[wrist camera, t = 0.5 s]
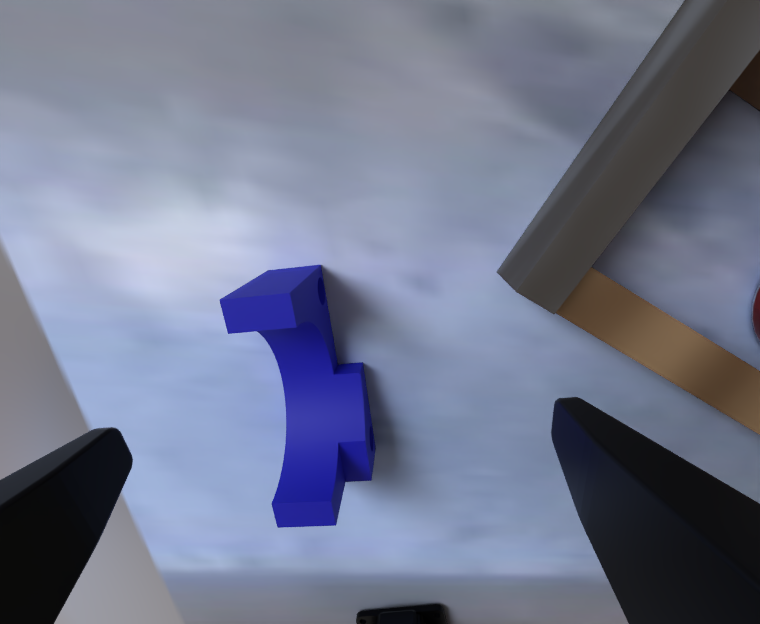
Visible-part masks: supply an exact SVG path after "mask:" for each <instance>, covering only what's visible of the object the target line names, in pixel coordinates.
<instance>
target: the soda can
mask: <svg viewBox="0 0 760 624" xmlns="http://www.w3.org/2000/svg"><path fill="white" fill-rule="evenodd" d="M752 322H753V328H754V331H755V333H756V336H757V338H758V340H759V342H760V284H759V286H758V288H757V289H756V292H755V296H754V299H753V305H752Z"/></svg>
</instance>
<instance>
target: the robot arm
mask: <svg viewBox="0 0 760 624" xmlns="http://www.w3.org/2000/svg"><path fill="white" fill-rule="evenodd" d="M551 435H552V441H553V444H554V447H555V450H556V453H557V456H558V459H559V462H560V464H561V467H562V470H563V473H564V476H565V479H566V482H567V485H568V487H569V490H570V493H571V496H572V499H573V502H574V505H575V507H576V510H577V513H578V515H579V518H580V520H581V523H582V525H583V527H584V529H585V532H586V534H587V536H588V538H589V540H590V542H591V544H592V546H593V549H594V551H595V553H596V555H597V557H598V559H599V561H600V563H601V565H602V568H603V570H604V572H605V574H606V576H607V578H608V580H609V582H610V584H611V587H612V589H613V591H614V593H615V595H616V597H617V599H618V601H619V604H620V606H621V608H622V610H623V612H624V614H625V616H626V618H627V620H628V623H629V624H760V504H759V503H758V502H756V501H754V500H752V499H751V498H749V497H747V496H746V495H744V494H742V493H741V492H739V491H737V490H735V489H734V488H732V487H730V486H729V485H727V484H725V483H724V482H722V481H720V480H718V479H717V478H715V477H713V476H712V475H710V474H708V473H707V472H705V471H703V470H701V469H700V468H698V467H696V466H695V465H693V464H691V463H690V462H688V461H686V460H684V459H683V458H681V457H679V456H678V455H676V454H674V453H673V452H671V451H669V450H667V449H666V448H664V447H662V446H661V445H659V444H657V443H656V442H654V441H652V440H650V439H649V438H647V437H645V436H644V435H642V434H640V433H639V432H637V431H635V430H633V429H632V428H630V427H628V426H627V425H625V424H623V423H622V422H620V421H618V420H616V419H615V418H613V417H611V416H610V415H608V414H606V413H605V412H603V411H601V410H599V409H598V408H596V407H594V406H593V405H591V404H589V403H588V402H586V401H584V400H582V399H580V398H578V397H570V398H559V399H557V400H556V401H555V404H554V411H553V420H552V430H551ZM132 462H133V459H132V455H131V453H130V451H129V448H128V446H127V444H126V442H125V440H124V438H123V436H122V434H121V432H120V431H119V430H118V429H117V428H113V427H110V428H97V429H93V430H91V431H89V432H88V433H86V434H84V435H82V436H80V437H79V438H77V439H75V440H73V441H71V442H69V443H67V444H66V445H64V446H62V447H60V448H58V449H56V450H55V451H53V452H51V453H49V454H47V455H45V456H44V457H42V458H40V459H38V460H36V461H34V462H33V463H31V464H29V465H27V466H25V467H23V468H22V469H20V470H18V471H16V472H14V473H12V474H11V475H9V476H7V477H5V478H3V479H1V480H0V624H54V622H55V620H56V619H57V617H58V615H59V613H60V611H61V610H62V608H63V606H64V604H65V602H66V600H67V598H68V597H69V595H70V593H71V591H72V589H73V588H74V586H75V584H76V582H77V580H78V579H79V577H80V575H81V573H82V571H83V569H84V568H85V566H86V564H87V562H88V560H89V558H90V557H91V555H92V553H93V551H94V549H95V547H96V545H97V543H98V542H99V539H100V537H101V535H102V533H103V531H104V529H105V526H106V524H107V522H108V520H109V518H110V515H111V513H112V511H113V509H114V506H115V504H116V502H117V500H118V497H119V495H120V493H121V491H122V488H123V486H124V484H125V481H126V479H127V477H128V475H129V472H130V470H131V468H132ZM356 623H357V624H447V621H446V617H445V613H444V609H443V607H442V606H441V605H425V606H414V607H402V608H391V609H380V610H369V611H361V612H358V614H357V618H356Z"/></svg>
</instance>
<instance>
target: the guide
mask: <svg viewBox="0 0 760 624" xmlns="http://www.w3.org/2000/svg"><path fill="white" fill-rule="evenodd" d="M728 90H731V91H732V92H734V93H735V94H737V95H738V96H739V97H741V98H742V99H744V100H745V101H747V102H748V103H749V104H751V105H752V106H754V107H755V108H757V109H758V110H759V111H760V0H685V1H684V2H683V4H682V5H681V7H680V8H679V10H678V11H677V13H676V14H675V15H674V17H673V18H672V20H671V21H670V23H669V24H668V26H667V27H666V28H665V30H664V31H663V33H662V34H661V36H660V37H659V38H658V40H657V41H656V43H655V44H654V46H653V47H652V49H651V50H650V51H649V53H648V54H647V56H646V57H645V59H644V60H643V62H642V63H641V64H640V66H639V67H638V69H637V70H636V72H635V73H634V75H633V76H632V77H631V79H630V80H629V82H628V83H627V85H626V86H625V88H624V89H623V90H622V92H621V93H620V95H619V96H618V98H617V99H616V101H615V102H614V103H613V105H612V106H611V108H610V109H609V111H608V112H607V113H606V115H605V116H604V118H603V119H602V121H601V122H600V124H599V125H598V126H597V128H596V129H595V131H594V132H593V134H592V135H591V137H590V138H589V139H588V141H587V142H586V144H585V145H584V147H583V148H582V150H581V151H580V152H579V154H578V155H577V157H576V158H575V160H574V161H573V163H572V164H571V165H570V167H569V168H568V170H567V171H566V173H565V174H564V176H563V177H562V178H561V180H560V181H559V183H558V184H557V186H556V187H555V188H554V190H553V191H552V193H551V194H550V196H549V197H548V199H547V200H546V201H545V203H544V204H543V206H542V207H541V209H540V210H539V212H538V213H537V214H536V216H535V217H534V219H533V220H532V222H531V223H530V225H529V226H528V227H527V229H526V230H525V232H524V233H523V235H522V236H521V238H520V239H519V240H518V242H517V243H516V245H515V246H514V248H513V249H512V251H511V252H510V253H509V255H508V256H507V258H506V259H505V261H504V262H503V263H502V265H501V266H500V268H499V269H498V271H497V273H498V274H499V275H500V276H501V277H502V278H503V279H504V280H505V281H506V282H507V283H508V284H509V285H510V286H511V287H512V288H513V289H514V290H515V291H516V292H517V293H519V294H521V295H522V296H524V297H526V298H527V299H529V300H531V301H532V302H534V303H536V304H538V305H539V306H541V307H543V308H544V309H546V310H548V311H549V312H551V313H553V314H555V313H557V314H558V315H560V316H562V317H563V318H565V319H567V320H568V321H570V322H572V323H573V324H575V325H577V326H578V327H580V328H582V329H583V330H585V331H587V332H588V333H590V334H592V335H593V336H595V337H597V338H598V339H600V340H602V341H603V342H605V343H607V344H608V345H610V346H612V347H613V348H615V349H617V350H619V351H620V352H622V353H624V354H625V355H627V356H629V357H630V358H632V359H634V360H635V361H637V362H639V363H640V364H642V365H644V366H645V367H647V368H649V369H650V370H652V371H654V372H655V373H657V374H659V375H660V376H662V377H664V378H665V379H667V380H669V381H670V382H672V383H674V384H675V385H677V386H679V387H681V388H682V389H684V390H686V391H687V392H689V393H691V394H692V395H694V396H696V397H697V398H699V399H701V400H702V401H704V402H706V403H707V404H709V405H711V406H712V407H714V408H716V409H717V410H719V411H721V412H722V413H724V414H726V415H727V416H729V417H731V418H732V419H734V420H736V421H738V422H739V423H741V424H743V425H744V426H746V427H748V428H749V429H751V430H753V431H754V432H756V433H758V434H759V435H760V371H759V370H757V369H756V368H754V367H752V366H751V365H749V364H748V363H746V362H744V361H743V360H741V359H739V358H738V357H736V356H735V355H733V354H731V353H730V352H728V351H726V350H725V349H723V348H722V347H720V346H718V345H717V344H715V343H713V342H712V341H710V340H709V339H707V338H705V337H704V336H702V335H701V334H699V333H697V332H696V331H694V330H692V329H691V328H689V327H688V326H686V325H684V324H683V323H681V322H679V321H678V320H676V319H675V318H673V317H671V316H670V315H668V314H666V313H665V312H663V311H662V310H660V309H658V308H657V307H655V306H653V305H652V304H650V303H649V302H647V301H645V300H644V299H642V298H641V297H639V296H637V295H636V294H634V293H632V292H631V291H629V290H628V289H626V288H624V287H623V286H621V285H619V284H618V283H616V282H615V281H613V280H611V279H610V278H608V277H606V276H605V275H603V274H602V273H600V272H598V271H597V270H595V269H594V268H592V267H591V266H592V265H593V264H594V263H595V261H596V260H597V259H598V257H599V256H600V255H601V254H602V252H603V251H604V250H605V248H606V247H607V246H608V245H609V243H610V242H611V241H612V239H613V238H614V237H615V236H616V234H617V233H618V232H619V230H620V229H621V228H622V227H623V225H624V224H625V223H626V221H627V220H628V219H629V218H630V216H631V215H632V214H633V212H634V211H635V210H636V209H637V207H638V206H639V205H640V203H641V202H642V201H643V200H644V198H645V197H646V196H647V194H648V193H649V192H650V190H651V189H652V188H653V187H654V185H655V184H656V183H657V181H658V180H659V179H660V178H661V176H662V175H663V174H664V172H665V171H666V170H667V169H668V167H669V166H670V165H671V163H672V162H673V161H674V160H675V158H676V157H677V156H678V154H679V153H680V152H681V151H682V149H683V148H684V147H685V145H686V144H687V143H688V142H689V140H690V139H691V138H692V136H693V135H694V134H695V133H696V131H697V130H698V129H699V127H700V126H701V125H702V124H703V122H704V121H705V120H706V118H707V117H708V116H709V115H710V113H711V112H712V111H713V109H714V108H715V107H716V106H717V104H718V103H719V102H720V100H721V99H722V98H723V96H724V95H725V94H726V93H727V91H728Z"/></svg>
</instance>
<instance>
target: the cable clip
mask: <svg viewBox="0 0 760 624" xmlns="http://www.w3.org/2000/svg"><path fill="white" fill-rule="evenodd" d="M220 304H221V308H222V312H223V316H224V319H225V323H226V327H227V331H228V334H231V333H242V332H252V331H257V332H259V333H260V334H261V335H262V336H263V337H264V338H265V340H266V341H267V342H268V344H269V345H270V347H271V349H272V351H273V353H274V355H275V358H276V360H277V363H278V366H279V369H280V373H281V377H282V381H283V387H284V393H285V402H286V445H285V454H284V461H283V467H282V472H281V476H280V480H279V484H278V488H277V491H276V494H275V496H274V499H273V501H272V507H273V511H274V515H275V519H276V523H277V527H305V526H332V525H336V523H337V518H338V514H339V509H340V504H341V500H342V495H343V490H344V486H345V482H351V481H371V480H372V472H373V465H374V457H375V449H376V448H375V441H374V434H373V428H372V421H371V414H370V407H369V401H368V394H367V387H366V380H365V374H364V367H363V362H362V363H350V364H338V363H337V357H336V351H335V345H334V339H333V333H332V327H331V322H330V316H329V310H328V304H327V298H326V292H325V286H324V280H323V275H322V269H321V265H314V266H305V267H295V268H286V269H277V270H268V271H266V272H265V273H263V274H261V275H260V276H258V277H256V278H255V279H253V280H251V281H250V282H248V283H247V284H245V285H243V286H242V287H240V288H238V289H237V290H235V291H233V292H232V293H230V294H228V295H227V296H225V297H223V298H222V299H220Z"/></svg>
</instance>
